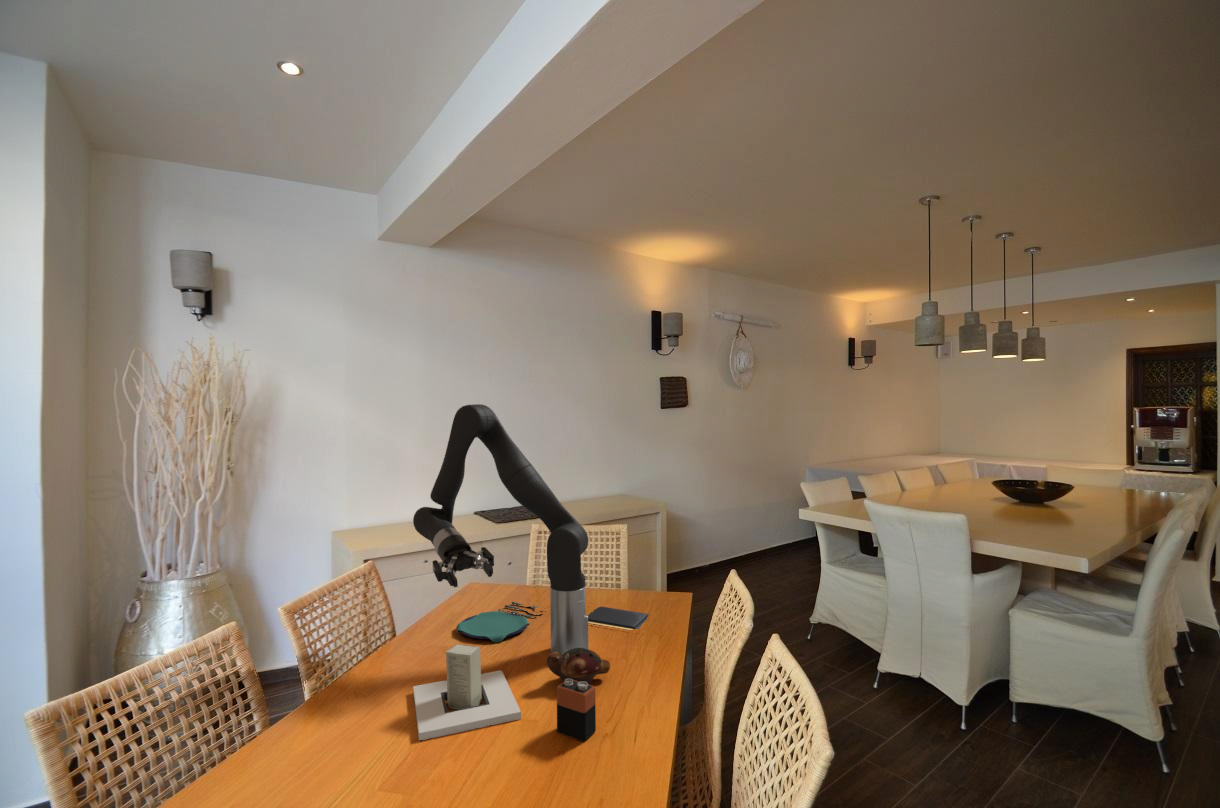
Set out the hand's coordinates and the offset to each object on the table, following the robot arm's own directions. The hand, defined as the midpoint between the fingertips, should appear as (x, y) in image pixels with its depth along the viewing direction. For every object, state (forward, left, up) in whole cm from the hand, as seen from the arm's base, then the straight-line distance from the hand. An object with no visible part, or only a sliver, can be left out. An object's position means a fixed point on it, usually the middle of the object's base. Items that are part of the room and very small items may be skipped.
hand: (473, 578), depth 135 cm
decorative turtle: (-22, +12, -24) cm, 35 cm away
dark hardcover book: (-45, -21, -24) cm, 56 cm away
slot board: (+4, +12, -24) cm, 27 cm away
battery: (-15, +31, -24) cm, 42 cm away
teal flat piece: (-14, -32, -24) cm, 42 cm away
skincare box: (+4, +12, -24) cm, 27 cm away
